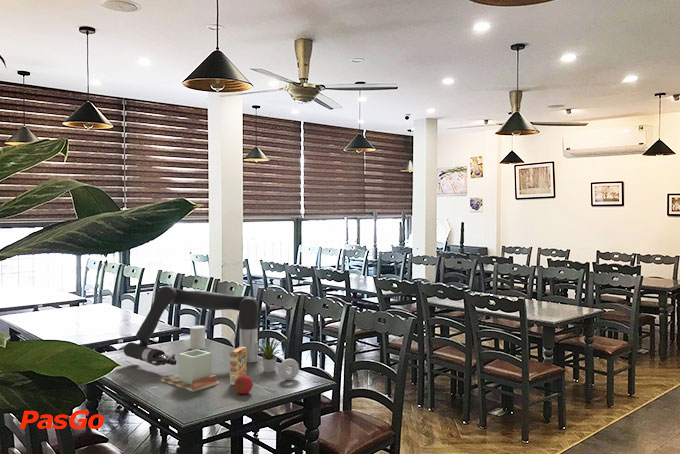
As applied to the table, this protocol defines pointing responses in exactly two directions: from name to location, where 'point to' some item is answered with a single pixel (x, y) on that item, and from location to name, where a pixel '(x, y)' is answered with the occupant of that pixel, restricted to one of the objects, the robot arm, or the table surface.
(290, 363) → the donut
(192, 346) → the cup
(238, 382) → the tomato
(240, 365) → the candy box
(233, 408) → the table surface
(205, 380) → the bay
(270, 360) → the house plant
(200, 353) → the square container
